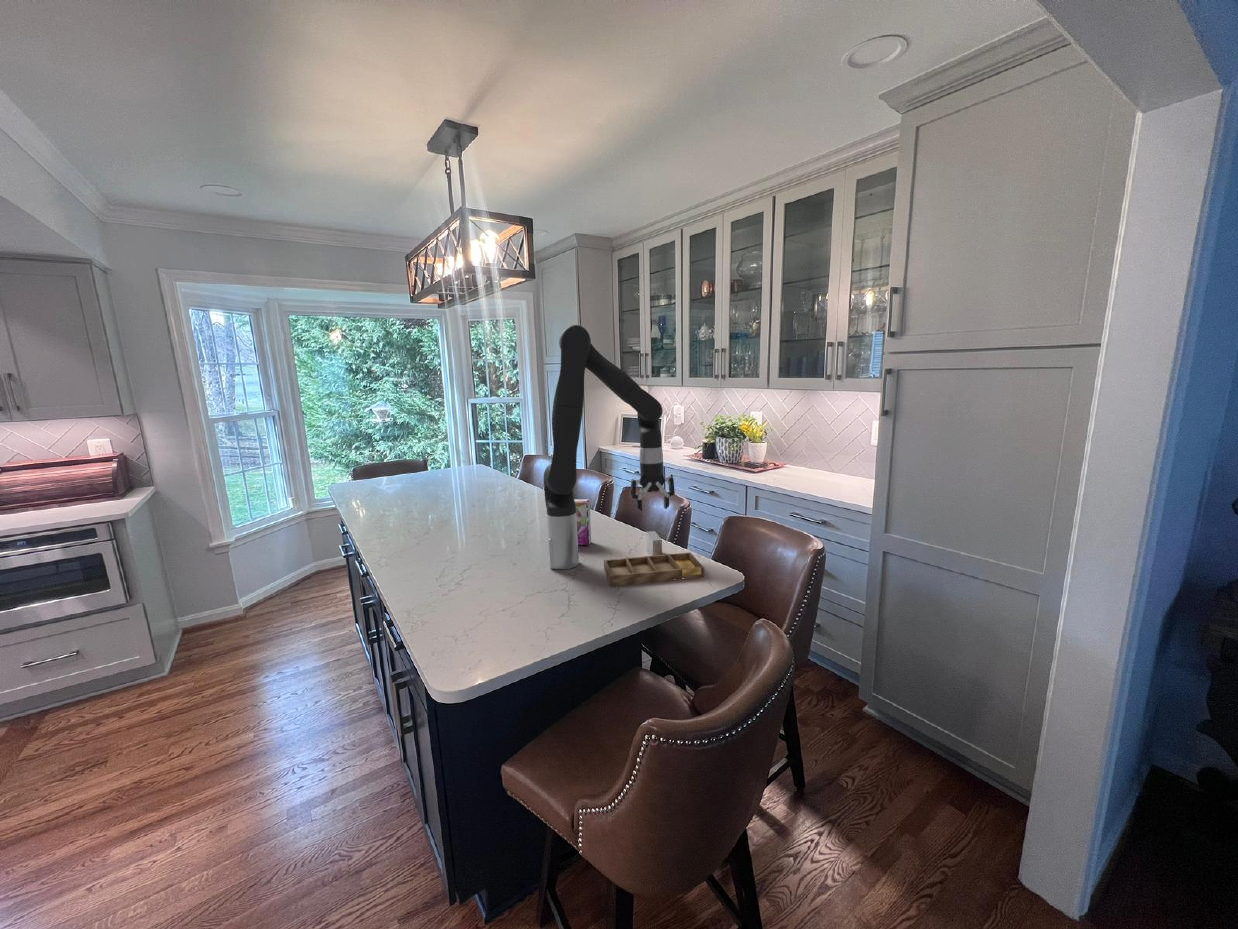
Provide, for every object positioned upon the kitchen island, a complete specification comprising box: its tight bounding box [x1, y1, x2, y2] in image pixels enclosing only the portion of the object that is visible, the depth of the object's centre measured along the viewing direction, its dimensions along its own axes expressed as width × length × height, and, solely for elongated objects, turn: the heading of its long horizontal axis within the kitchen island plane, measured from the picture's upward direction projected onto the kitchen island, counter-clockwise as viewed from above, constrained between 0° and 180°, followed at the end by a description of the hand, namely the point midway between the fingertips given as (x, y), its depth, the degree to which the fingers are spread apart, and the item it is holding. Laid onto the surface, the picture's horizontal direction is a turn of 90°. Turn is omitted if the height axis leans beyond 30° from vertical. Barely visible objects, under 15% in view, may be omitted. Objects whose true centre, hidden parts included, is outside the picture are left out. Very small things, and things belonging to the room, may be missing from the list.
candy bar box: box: [574, 498, 592, 547], centre depth 180 cm, size 11×5×16 cm, turn 84°
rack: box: [603, 552, 705, 587], centre depth 150 cm, size 28×14×3 cm, turn 99°
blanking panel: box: [645, 530, 663, 556], centre depth 166 cm, size 3×10×7 cm, turn 9°
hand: (653, 509), depth 164 cm, fingers open, 8 cm apart
